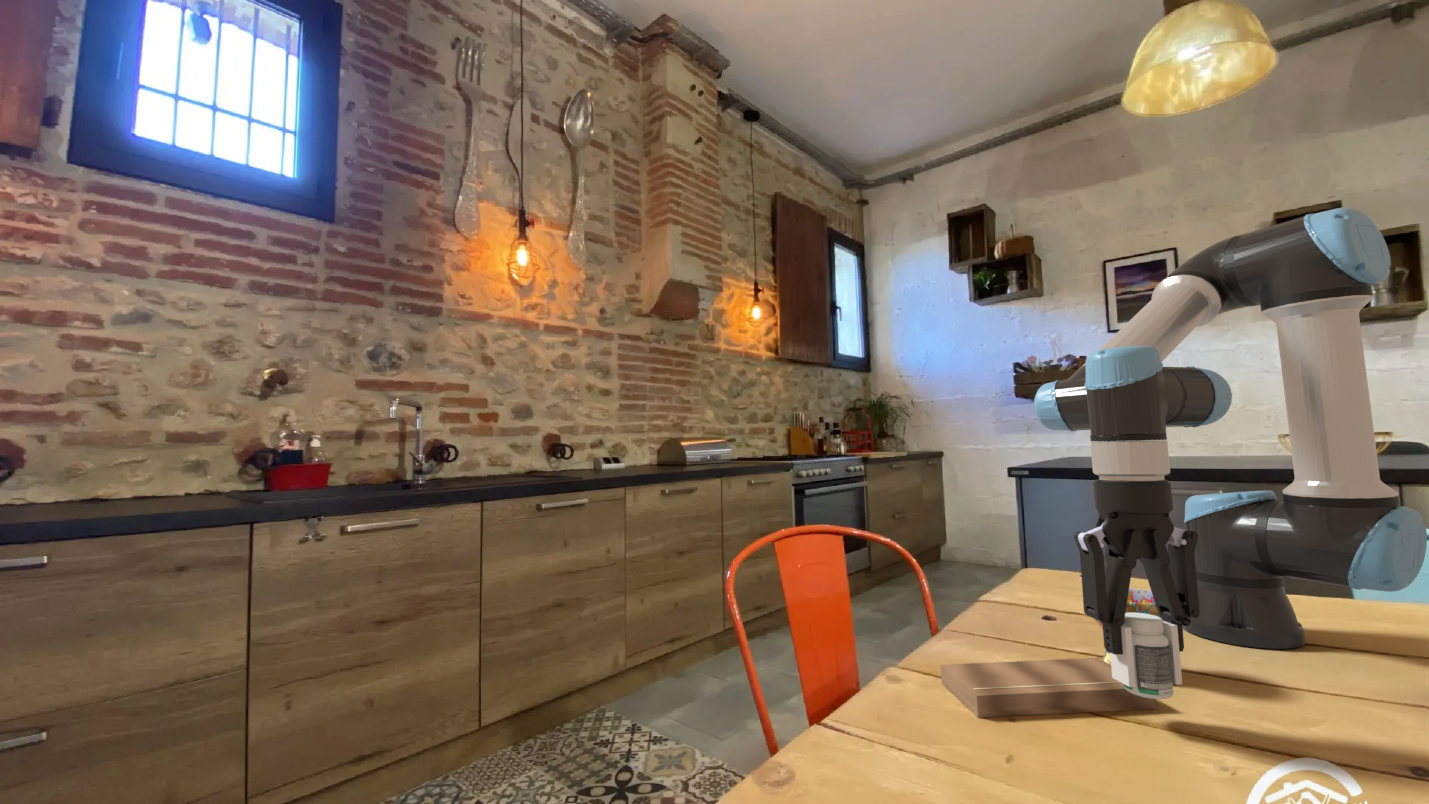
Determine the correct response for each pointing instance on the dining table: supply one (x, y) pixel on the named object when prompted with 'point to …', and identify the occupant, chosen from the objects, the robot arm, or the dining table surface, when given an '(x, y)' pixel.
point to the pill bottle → (1150, 656)
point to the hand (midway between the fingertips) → (1146, 680)
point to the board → (1040, 687)
